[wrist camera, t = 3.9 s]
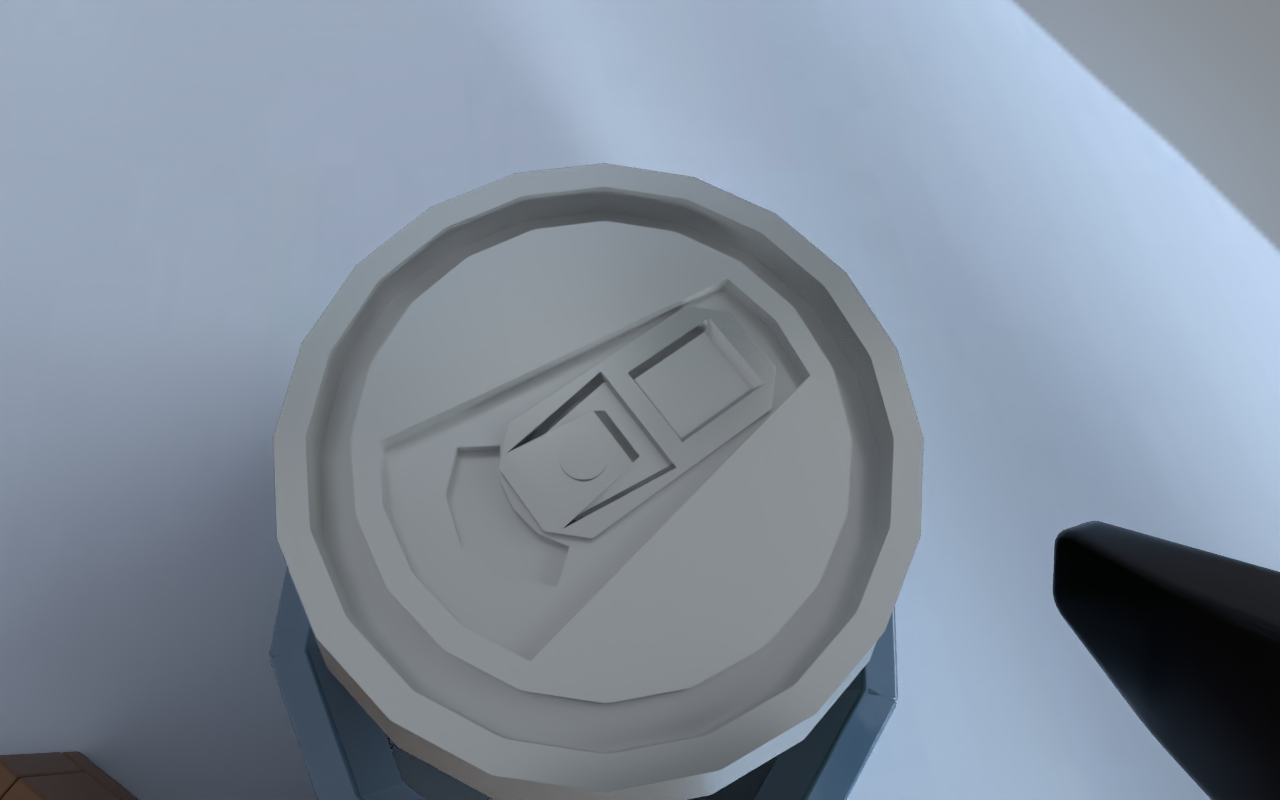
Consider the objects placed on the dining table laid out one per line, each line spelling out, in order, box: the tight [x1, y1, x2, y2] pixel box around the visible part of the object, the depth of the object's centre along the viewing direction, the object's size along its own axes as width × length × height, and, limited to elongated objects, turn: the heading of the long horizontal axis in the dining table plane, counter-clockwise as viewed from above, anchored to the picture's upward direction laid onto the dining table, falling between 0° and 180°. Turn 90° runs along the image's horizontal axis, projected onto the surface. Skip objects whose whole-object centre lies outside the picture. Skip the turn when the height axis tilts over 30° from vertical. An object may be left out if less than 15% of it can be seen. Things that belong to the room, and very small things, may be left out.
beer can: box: [273, 163, 923, 800], centre depth 12 cm, size 5×5×12 cm
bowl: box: [269, 565, 898, 800], centre depth 16 cm, size 10×10×4 cm
